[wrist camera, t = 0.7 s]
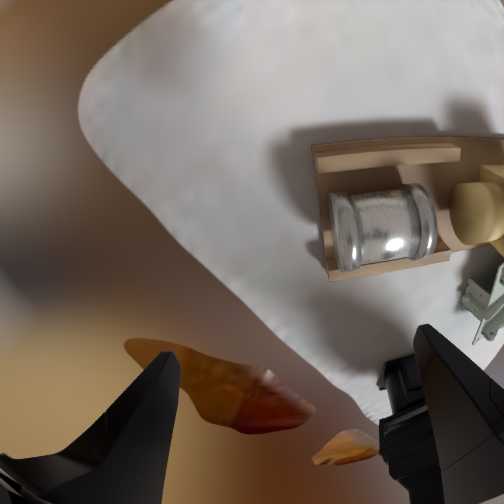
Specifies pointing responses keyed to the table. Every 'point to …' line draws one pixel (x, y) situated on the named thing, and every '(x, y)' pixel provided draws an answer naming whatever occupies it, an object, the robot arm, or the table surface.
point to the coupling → (382, 226)
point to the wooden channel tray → (431, 178)
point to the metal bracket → (486, 306)
